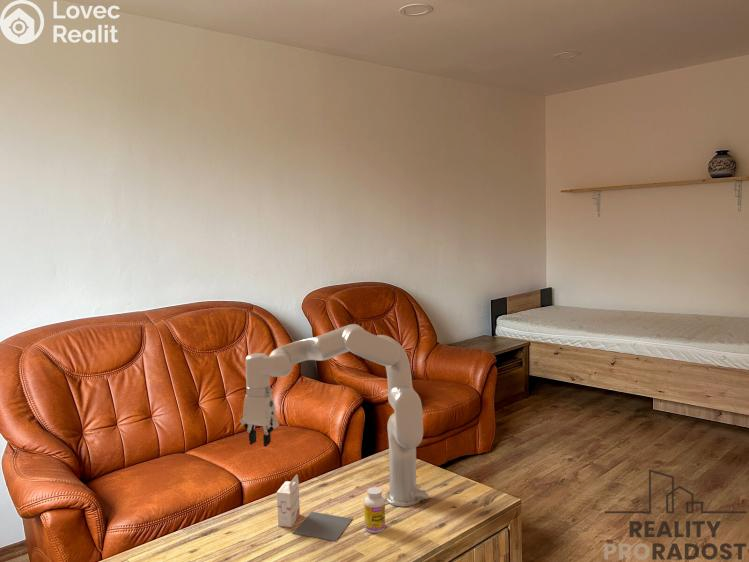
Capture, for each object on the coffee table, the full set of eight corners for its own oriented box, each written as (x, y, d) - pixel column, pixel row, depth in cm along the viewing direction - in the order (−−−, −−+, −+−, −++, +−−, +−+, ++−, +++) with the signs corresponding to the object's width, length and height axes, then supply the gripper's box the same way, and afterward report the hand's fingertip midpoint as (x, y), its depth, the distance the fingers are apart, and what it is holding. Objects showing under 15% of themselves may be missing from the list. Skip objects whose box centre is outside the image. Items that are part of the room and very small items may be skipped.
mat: (352, 519, 191) (352, 518, 191) (336, 541, 178) (335, 540, 178) (311, 512, 196) (311, 511, 196) (292, 533, 183) (292, 532, 183)
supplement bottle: (370, 536, 181) (369, 497, 180) (361, 526, 187) (360, 488, 186) (388, 530, 184) (388, 492, 183) (379, 521, 190) (378, 484, 189)
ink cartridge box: (286, 513, 196) (285, 472, 194) (300, 514, 195) (299, 473, 193) (277, 526, 188) (275, 483, 186) (291, 527, 187) (290, 484, 185)
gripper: (286, 390, 191) (287, 442, 193) (242, 385, 196) (244, 437, 198) (275, 396, 184) (277, 451, 186) (229, 392, 189) (231, 445, 191)
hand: (259, 443), depth 192 cm, fingers open, 4 cm apart
